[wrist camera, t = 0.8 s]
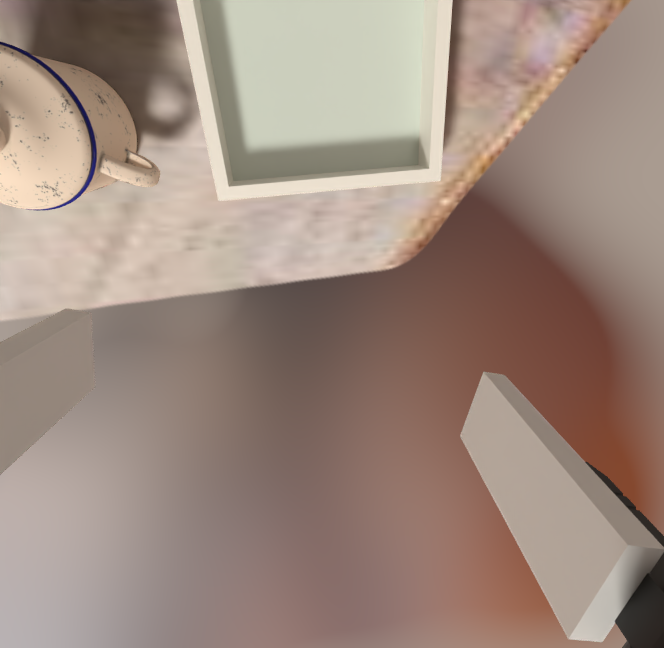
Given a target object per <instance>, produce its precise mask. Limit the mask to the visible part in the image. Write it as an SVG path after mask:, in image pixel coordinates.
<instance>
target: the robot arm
mask: <svg viewBox="0 0 664 648" xmlns="http://www.w3.org/2000/svg"><path fill="white" fill-rule="evenodd" d="M94 388H95V372H94V353H93V334H92V316H91V312H86V311H79V310H72V309H64V310H62V311H60V312H58V313H57V314H55V315H53V316H51V317H49V318H47V319H45V320H43V321H41V322H39V323H37V324H35V325H33V326H31V327H29V328H27V329H25V330H23V331H21V332H19V333H17V334H15V335H14V336H12V337H10V338H8V339H6V340H4V341H2V342H0V475H1V474H2V473H3V472H4V471H5V470H6V469H7V468H8V467H9V466H10V465H11V464H12V463H14V462H15V461H16V460H17V459H18V458H19V457H20V456H21V455H22V454H23V453H24V452H25V451H27V450H28V449H29V448H30V447H31V446H32V445H33V444H34V443H35V442H36V441H37V440H38V439H39V438H41V437H42V436H43V435H44V434H45V433H46V432H47V431H48V430H49V429H50V428H51V427H53V426H54V425H55V424H56V423H57V422H58V421H59V420H60V419H61V418H62V417H63V416H64V415H66V414H67V413H68V412H69V411H70V410H71V409H72V408H73V407H74V406H75V405H76V404H77V403H78V402H80V401H81V400H82V399H83V398H84V397H85V396H86V395H87V394H88V393H89V392H90V391H91V390H93V389H94ZM460 437H461V439H462V441H463V442H464V444H465V446H466V448H467V450H468V452H469V454H470V456H471V457H472V459H473V461H474V463H475V465H476V467H477V469H478V471H479V473H480V474H481V476H482V478H483V480H484V482H485V484H486V485H487V487H488V489H489V491H490V493H491V495H492V497H493V499H494V500H495V502H496V504H497V506H498V508H499V510H500V512H501V514H502V516H503V517H504V519H505V521H506V523H507V525H508V527H509V529H510V531H511V532H512V534H513V536H514V538H515V540H516V542H517V544H518V546H519V547H520V549H521V551H522V553H523V555H524V557H525V559H526V561H527V562H528V564H529V566H530V568H531V570H532V571H533V574H534V576H535V577H536V579H537V581H538V583H539V585H540V587H541V589H542V591H543V592H544V594H545V596H546V598H547V600H548V602H549V604H550V605H551V607H552V609H553V611H554V613H555V615H556V616H557V619H558V620H559V622H560V624H561V626H562V628H563V630H564V632H565V633H566V635H567V637H568V639H574V640H585V641H596V642H603V640H604V639H605V637H606V635H607V634H608V633H609V631H610V630H611V628H612V627H613V626H614V624H615V623H616V624H617V625H618V627H619V629H620V630H621V632H622V633H623V635H624V636H625V638H626V639H627V642H626V643H625V644H624V646H623V647H622V648H664V536H663V535H662V534H661V533H660V532H659V531H658V530H657V529H656V528H655V527H654V526H653V524H652V523H651V522H650V521H649V520H648V519H647V518H646V517H645V516H644V515H643V514H642V513H641V512H640V511H638V510H636V507H635V506H634V504H633V503H632V502H631V501H630V500H629V499H628V498H627V497H625V496H623V493H622V492H621V491H620V490H619V489H618V488H617V487H616V486H615V485H614V483H613V482H612V481H611V480H610V479H609V478H608V477H607V476H605V475H604V474H603V473H601V472H600V471H598V470H597V469H596V468H594V467H593V466H592V465H590V464H589V463H588V462H584V461H583V459H582V458H581V457H580V456H579V455H578V454H577V453H576V452H575V451H574V450H573V449H572V448H571V446H569V444H568V443H567V442H566V441H565V440H564V439H563V438H562V437H561V436H560V435H559V433H557V431H556V430H555V429H554V428H553V427H552V426H551V425H550V424H549V423H548V422H547V421H546V419H545V418H543V416H542V415H541V414H540V413H539V412H538V411H537V410H536V409H535V408H534V406H533V405H532V404H531V403H530V402H529V401H528V400H527V399H526V398H525V397H524V396H523V395H522V393H521V392H520V391H519V390H518V389H517V388H516V387H515V386H514V385H513V384H512V383H511V382H510V381H509V379H508V378H507V377H506V376H505V375H501V374H495V373H488V372H483V375H482V378H481V380H480V383H479V386H478V388H477V392H476V394H475V397H474V400H473V402H472V405H471V408H470V411H469V413H468V416H467V419H466V422H465V424H464V427H463V430H462V433H461V435H460Z"/></svg>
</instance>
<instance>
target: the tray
mask: <svg viewBox="0 0 664 648" xmlns="http://www.w3.org/2000/svg"><path fill="white" fill-rule="evenodd" d="M452 1H453V0H177V5H178V10H179V15H180V19H181V24H182V29H183V34H184V39H185V43H186V48H187V53H188V58H189V62H190V67H191V72H192V77H193V82H194V86H195V91H196V96H197V101H198V106H199V110H200V115H201V120H202V125H203V129H204V134H205V139H206V144H207V149H208V153H209V158H210V163H211V168H212V172H213V177H214V182H215V187H216V192H217V196H218V201H225V200H236V199H247V198H258V197H269V196H280V195H291V194H302V193H313V192H323V191H334V190H345V189H356V188H367V187H378V186H389V185H400V184H411V183H422V182H433V181H441V168H442V153H443V138H444V122H445V107H446V92H447V77H448V62H449V46H450V31H451V16H452Z"/></svg>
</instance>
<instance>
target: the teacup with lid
mask: <svg viewBox="0 0 664 648" xmlns="http://www.w3.org/2000/svg"><path fill="white" fill-rule="evenodd" d="M136 150H137V136H136V130H135V126H134V122H133V119H132V117H131V114H130V112H129V110H128V108H127V107H126V105H125V103H124V102H123V101H122V99H121V98H120V96H119V95H118V94H117V93H116V92H115V91H114V89H113V88H112V87H111V86H110V85H108V84H107V83H106V82H105V81H104V80H102V79H101V78H100V77H98V76H97V75H95V74H93V73H92V72H90V71H88V70H86V69H83V68H81V67H78V66H75V65H71V64H67V63H63V62H59V61H55V60H51V59H47V58H43V57H39V56H35V55H31V54H29V53H28V52H26V51H24V50H22V49H19V48H17V47H15V46H12V45H9V44H6V43H3V42H0V202H1V203H3V204H6V205H9V206H13V207H17V208H22V209H28V210H51V209H56V208H60V207H62V206H65V205H67V204H69V203H71V202H73V201H74V200H76V199H77V198H78V197H80V196H81V195H83V194H86V193H88V192H91V191H94V190H96V189H99V188H102V187H104V186H107V185H110V184H112V183H114V182H116V181H118V180H120V181H123V182H126V183H129V184H133V185H137V186H142V187H152V186H155V185H156V184H157V183H158V181H159V178H160V171H159V169H158V167H157V166H156V165H155V164H154V163H153V162H151V161H150V160H148V159H146V158H145V157H143V156H141V155H139V154H137V153H136Z"/></svg>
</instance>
